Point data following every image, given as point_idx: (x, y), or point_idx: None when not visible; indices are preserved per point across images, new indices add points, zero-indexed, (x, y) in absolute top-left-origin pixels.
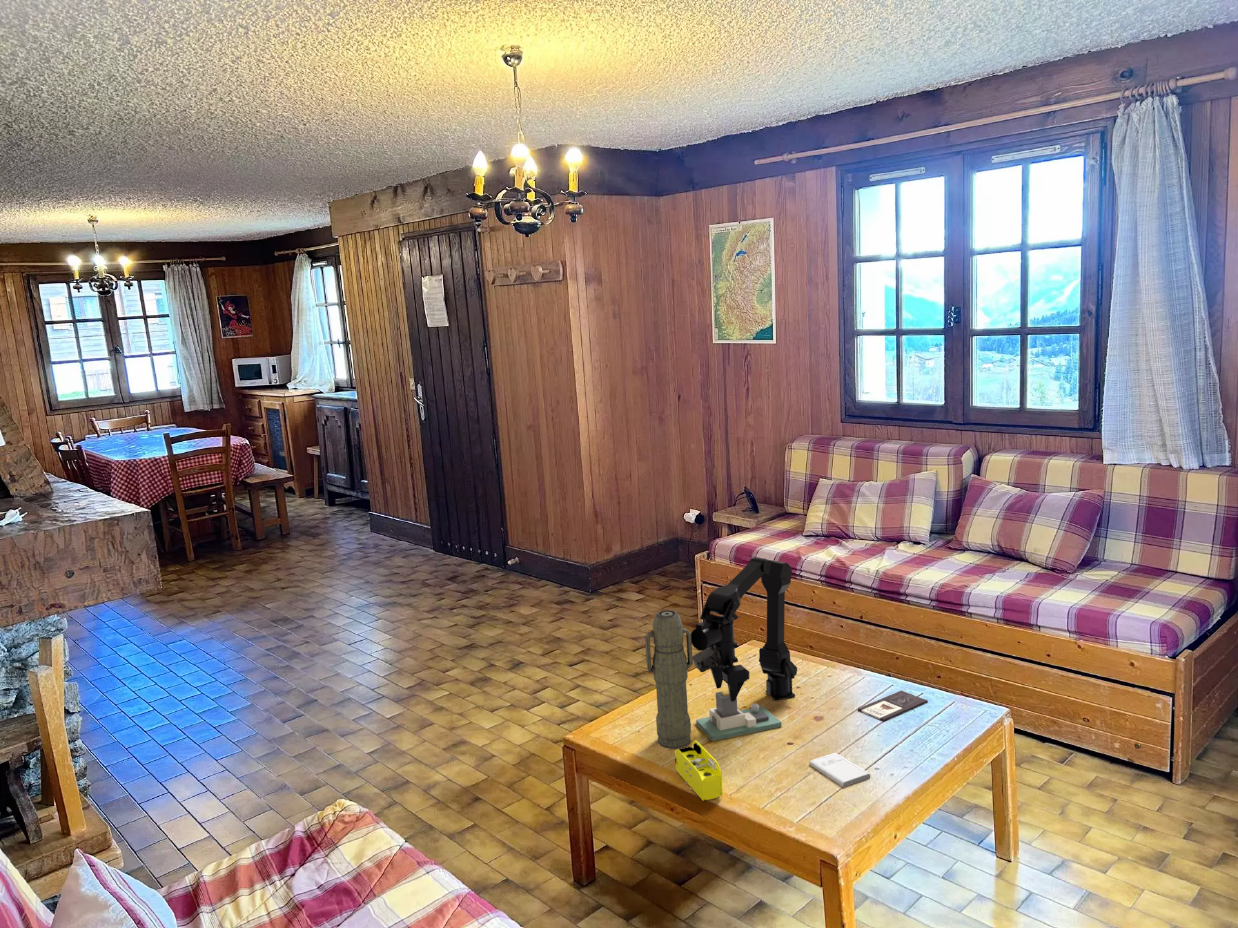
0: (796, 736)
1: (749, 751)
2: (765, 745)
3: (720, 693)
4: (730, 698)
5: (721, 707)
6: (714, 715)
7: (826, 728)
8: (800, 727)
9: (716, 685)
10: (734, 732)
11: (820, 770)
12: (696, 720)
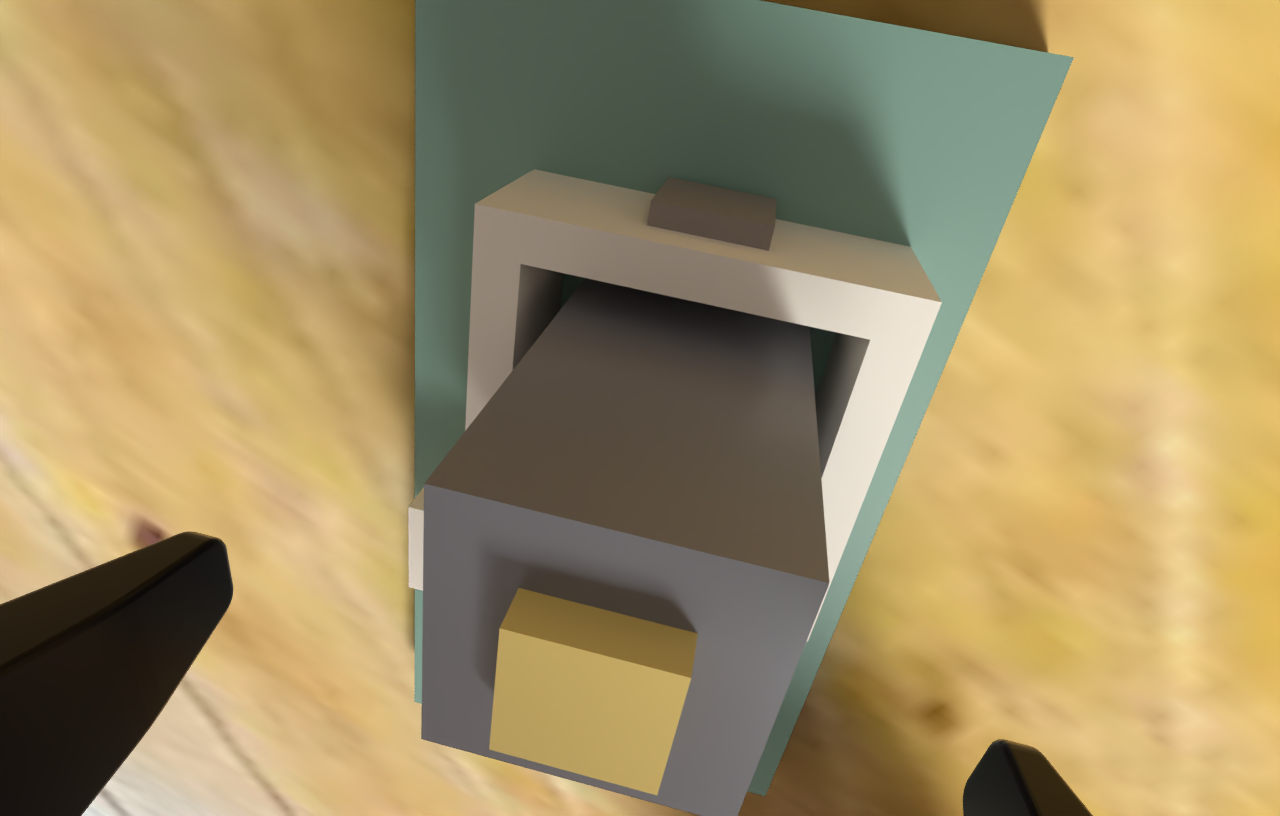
0: (242, 635)
1: (81, 186)
2: (164, 383)
3: (705, 621)
4: (146, 566)
5: (563, 380)
6: (710, 244)
7: (287, 800)
8: (360, 730)
9: (1030, 803)
10: (419, 283)
11: None
12: (1055, 54)
